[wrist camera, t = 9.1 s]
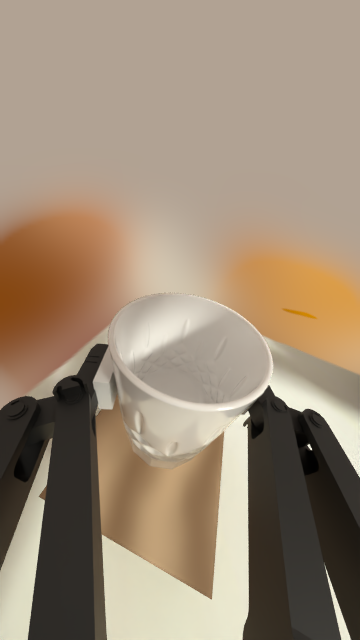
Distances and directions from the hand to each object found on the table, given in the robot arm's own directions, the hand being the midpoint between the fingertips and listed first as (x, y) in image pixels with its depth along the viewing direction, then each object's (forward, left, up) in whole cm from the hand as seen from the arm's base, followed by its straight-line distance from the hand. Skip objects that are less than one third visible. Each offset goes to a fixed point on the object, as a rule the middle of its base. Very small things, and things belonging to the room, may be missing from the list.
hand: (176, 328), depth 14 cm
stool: (-1, +4, -18) cm, 19 cm away
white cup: (-2, +5, -6) cm, 8 cm away
